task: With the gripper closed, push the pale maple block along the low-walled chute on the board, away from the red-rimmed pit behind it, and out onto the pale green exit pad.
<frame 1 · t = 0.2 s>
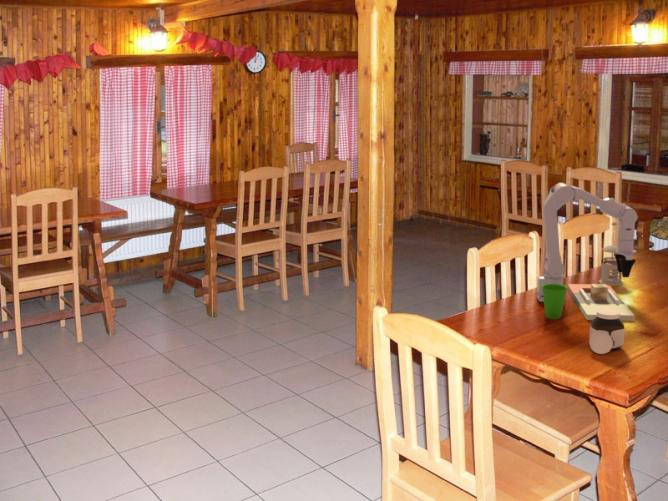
hand: (623, 274, 313), 10 cm above the table, tool pointing down, fingers open, 7 cm apart
chute board: (598, 303, 310), on the table
spread jar: (605, 350, 260), on the table
maple block: (598, 298, 310), point 2 cm above the table, touching chute board
cup: (553, 317, 295), on the table
french press: (612, 282, 341), on the table
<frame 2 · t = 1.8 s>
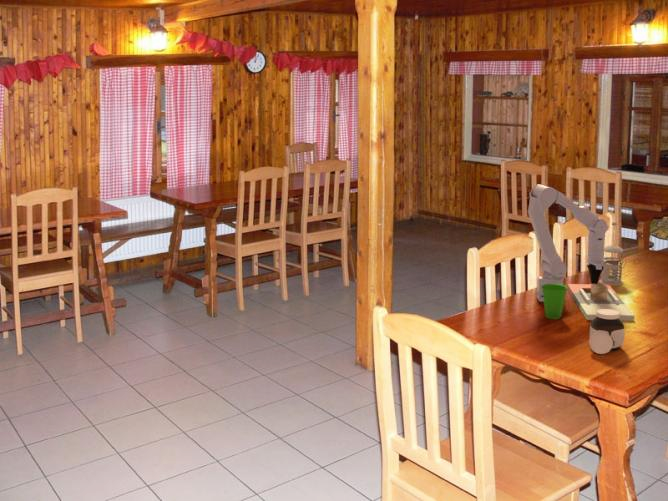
hand: (594, 283, 318), 5 cm above the table, tool pointing down, fingers closed
nothing on the table moved.
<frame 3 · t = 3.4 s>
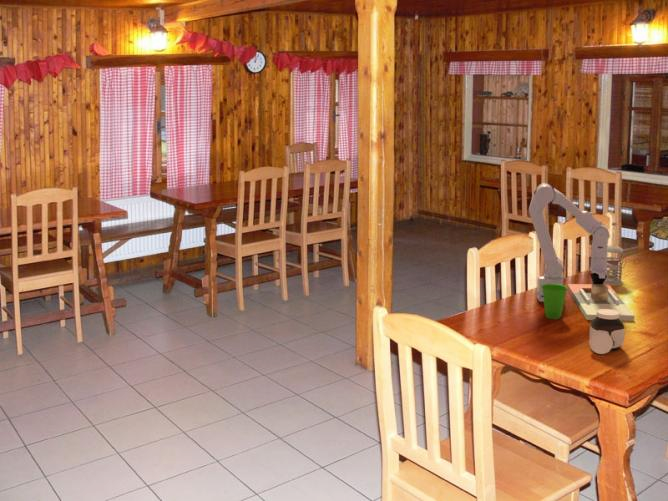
hand: (597, 292, 313), 3 cm above the table, tool pointing down, fingers closed
maple block: (599, 299, 309), point 2 cm above the table, touching gripper
everything else where it was.
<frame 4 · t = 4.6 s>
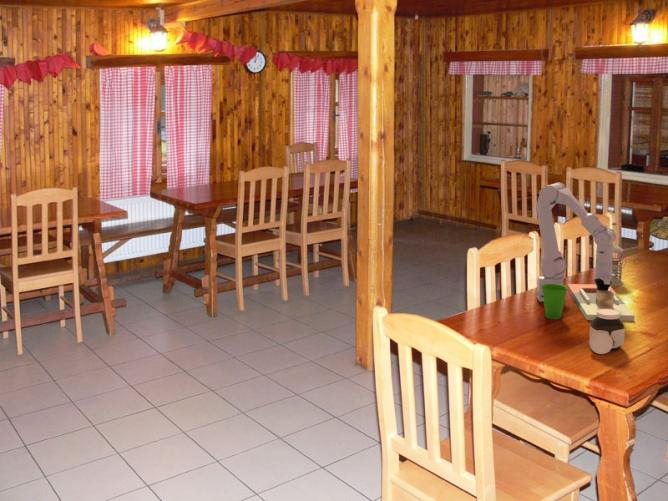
hand: (601, 298, 304), 3 cm above the table, tool pointing down, fingers closed
maple block: (604, 305, 300), point 2 cm above the table, touching gripper
everything else where it was.
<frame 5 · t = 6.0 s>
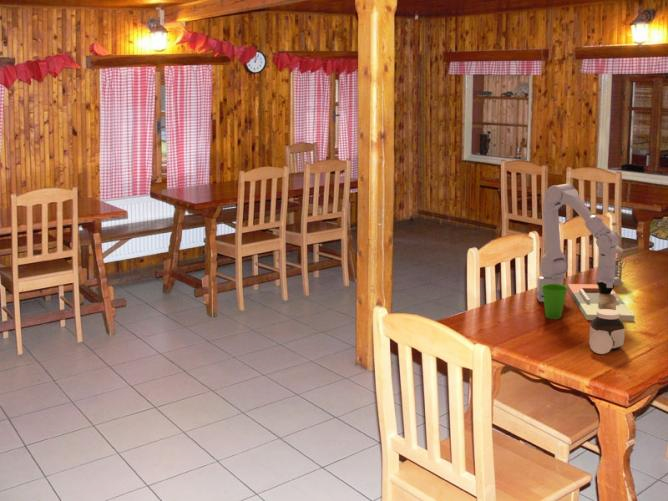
hand: (604, 302, 300), 3 cm above the table, tool pointing down, fingers closed
maple block: (606, 309, 296), point 2 cm above the table, touching chute board, gripper
everything else where it was.
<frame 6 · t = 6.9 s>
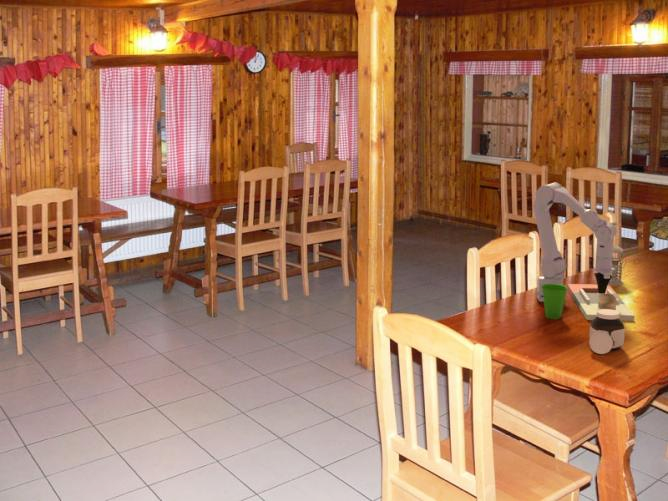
hand: (601, 293, 304), 6 cm above the table, tool pointing down, fingers closed
maple block: (606, 309, 296), point 2 cm above the table, touching chute board
everything else where it was.
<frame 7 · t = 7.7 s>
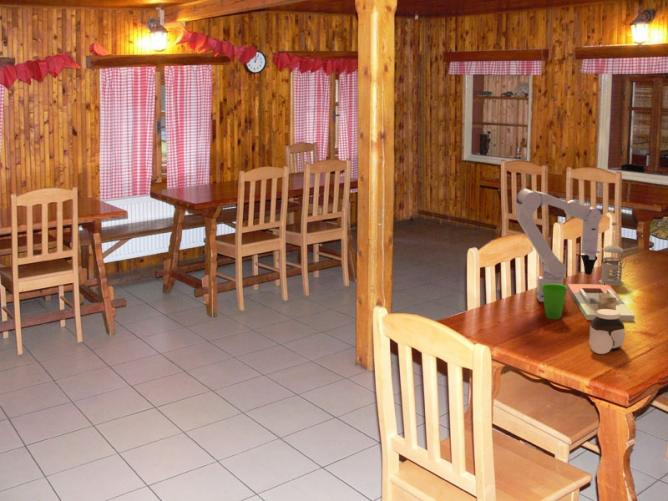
hand: (588, 274, 316), 9 cm above the table, tool pointing down, fingers closed
nothing on the table moved.
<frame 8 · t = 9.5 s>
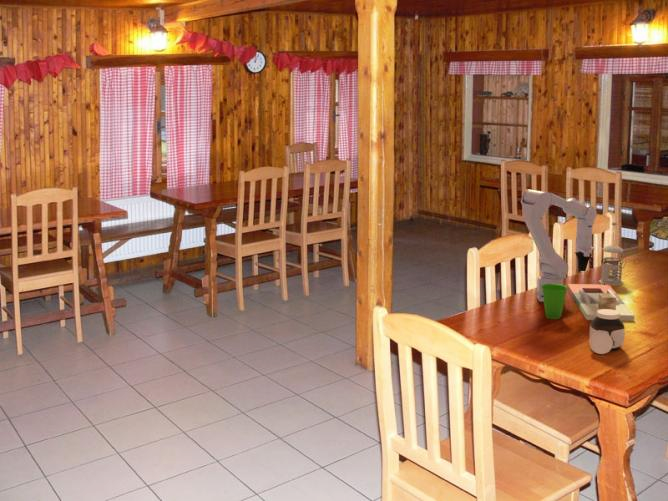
hand: (582, 270, 321), 9 cm above the table, tool pointing down, fingers closed
nothing on the table moved.
at the end: maple block inside the target area (0.5 cm from its centre), point 2.0 cm above the table; maple block tilted 0° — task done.
